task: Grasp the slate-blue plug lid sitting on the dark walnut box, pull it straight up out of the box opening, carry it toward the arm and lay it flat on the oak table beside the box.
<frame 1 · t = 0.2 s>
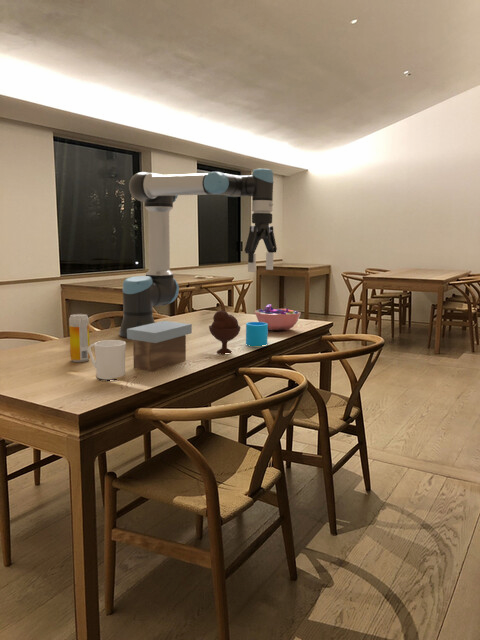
hand: (260, 270, 200), 28 cm above the table, fingers open, 13 cm apart
mug: (259, 344, 205), on the table
ice cream bowl: (224, 353, 190), on the table
beer can: (80, 361, 176), on the table
lid: (160, 335, 167), point 10 cm above the table, touching box
mug 2: (107, 378, 156), on the table
cell model: (277, 330, 233), on the table
box: (160, 367, 169), on the table
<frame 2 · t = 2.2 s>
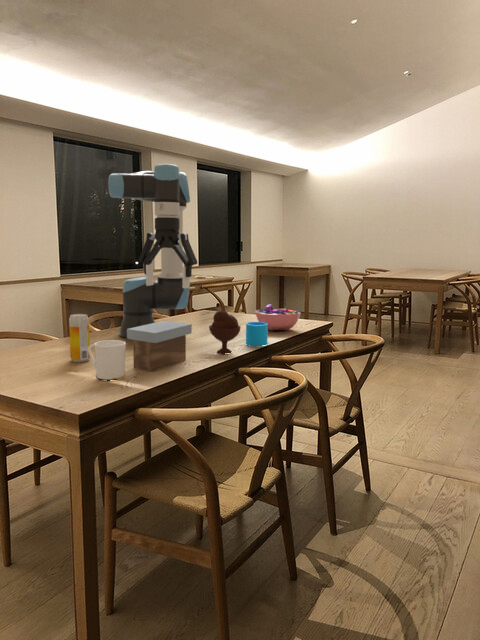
hand: (167, 286, 167), 25 cm above the table, fingers open, 13 cm apart
nothing on the table moved.
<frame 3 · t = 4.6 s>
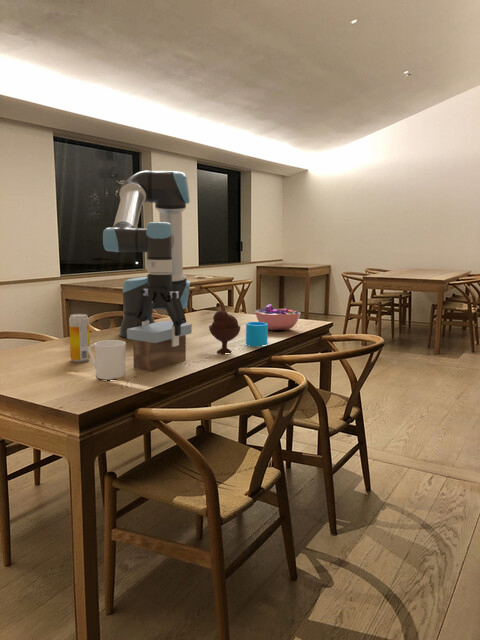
hand: (160, 343, 168), 8 cm above the table, fingers closed on lid, 11 cm apart
lid: (160, 335, 167), point 10 cm above the table, touching box, gripper
everything else where it was.
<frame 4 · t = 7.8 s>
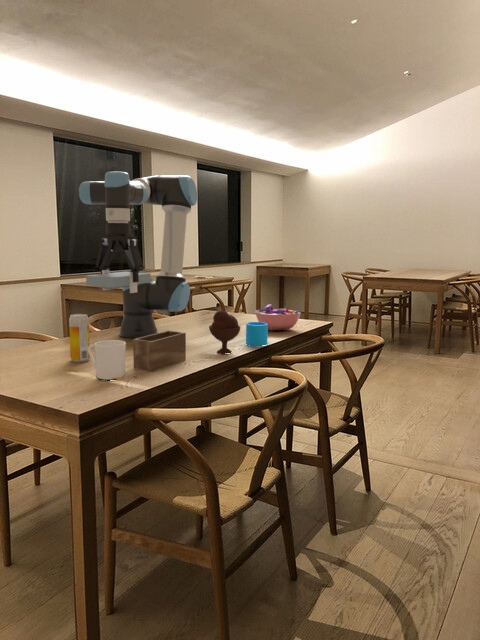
hand: (119, 291, 173), 23 cm above the table, fingers closed on lid, 11 cm apart
lid: (119, 283, 173), point 25 cm above the table, touching gripper
everything else where it was.
when the fingers open (1 cm above the table, at t = 11.0 s): lid drops 3 cm, point 1 cm above the table.
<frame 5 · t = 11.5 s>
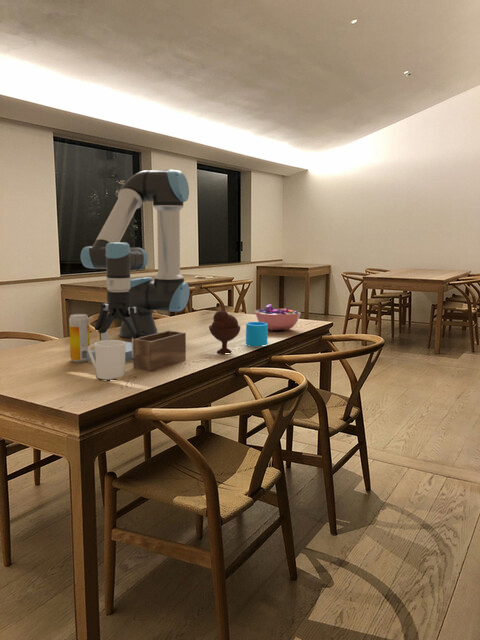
hand: (120, 354, 177), 2 cm above the table, fingers open, 13 cm apart
lid: (120, 357, 177), point 1 cm above the table
everything else where it was.
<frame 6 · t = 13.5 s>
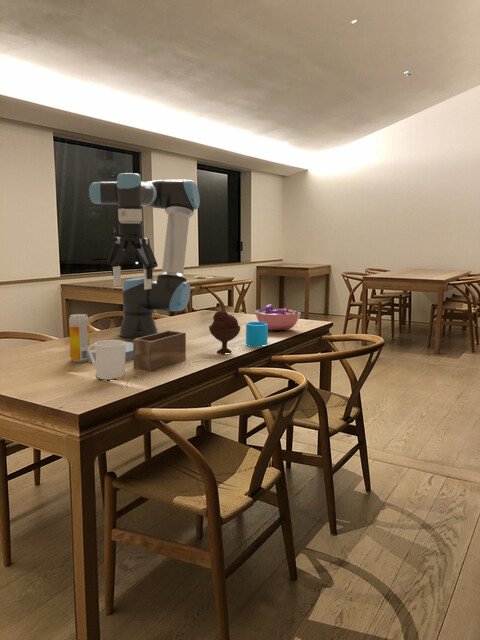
hand: (132, 287, 178), 23 cm above the table, fingers open, 13 cm apart
nothing on the table moved.
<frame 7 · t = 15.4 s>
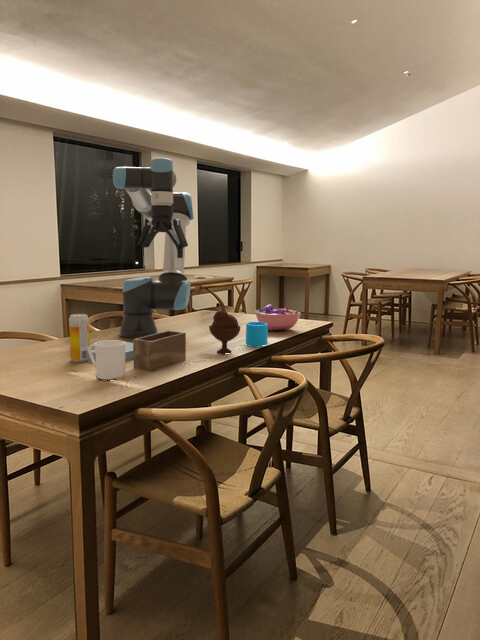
hand: (162, 266, 188), 30 cm above the table, fingers open, 13 cm apart
nothing on the table moved.
at the end: lid inside the target area (0.0 cm from its centre), point 0.8 cm above the table; lid tilted 0°; lid touching table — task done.
